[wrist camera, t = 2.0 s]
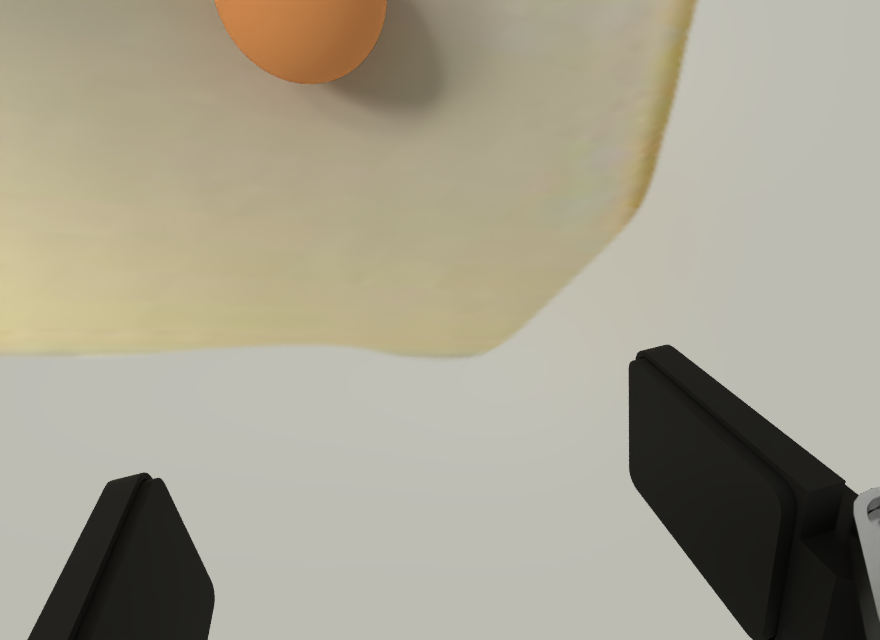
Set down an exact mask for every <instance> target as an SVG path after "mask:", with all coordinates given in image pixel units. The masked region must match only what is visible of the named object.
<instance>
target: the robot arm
mask: <svg viewBox="0 0 880 640" xmlns="http://www.w3.org/2000/svg"><path fill="white" fill-rule="evenodd" d="M629 471H630V476H631V479H632V482H633V483H634V486H635V487H636V489H637V490H638V492H639V493H640V494H641V495H642V497H643V498H644V499H645V501H646V502H647V503H648V505H649V506H650V507H651V508H652V510H653V511H654V512H655V514H656V515H657V516H658V518H659V519H660V520H661V521H662V523H663V524H664V526H665V527H666V528H667V530H668V531H669V532H670V534H671V535H672V536H673V537H674V539H675V540H676V541H677V543H678V544H679V545H680V546H681V548H682V549H683V551H684V552H685V553H686V554H687V556H688V557H689V558H690V560H691V561H692V562H693V564H694V565H695V566H696V568H697V569H698V570H699V572H700V573H701V574H702V575H703V577H704V578H705V579H706V581H707V582H708V583H709V585H710V586H711V587H712V589H713V590H714V591H715V593H716V594H717V595H718V596H719V598H720V599H721V600H722V601H723V603H724V604H725V606H726V607H727V608H728V610H729V611H730V612H731V613H732V615H733V616H734V617H735V619H736V620H737V621H738V623H739V624H740V625H741V627H742V628H743V629H744V630H745V632H746V633H747V634H748V635H749V636H750V637H751V638H752V639H753V640H880V487H878V488H871V489H869V490H867V491H865V492H863V493H861V494H860V495H858V494H856V493H855V492H854V491H853V490H851V489H850V488H849V487H847V486H846V485H845V482H846V481H845V480H843V479H842V478H841V477H840V476H838V475H837V474H836V473H835V472H833V471H832V470H831V469H829V468H828V467H827V466H826V465H824V464H823V463H822V462H820V461H819V460H818V459H817V458H815V457H814V456H813V455H811V454H810V453H809V452H808V451H806V450H805V449H804V448H802V447H801V446H800V445H799V444H797V443H796V442H795V441H793V440H792V439H791V438H789V437H788V436H787V435H785V434H784V433H783V432H782V431H781V430H779V429H778V428H777V427H775V426H774V425H773V424H771V423H770V422H769V421H768V420H766V419H765V418H764V417H763V416H761V415H760V414H759V413H757V412H756V411H755V410H754V409H752V408H751V407H750V406H748V405H747V404H746V403H744V402H743V401H742V400H741V399H739V398H738V397H737V396H736V395H734V394H733V393H732V392H730V391H729V390H728V389H727V388H725V387H724V386H723V385H721V384H720V383H719V382H717V381H716V380H715V379H714V378H712V377H711V376H710V375H709V374H707V373H706V372H705V371H703V370H702V369H701V368H699V367H698V366H697V365H696V364H694V363H693V362H692V361H691V360H689V359H688V358H687V357H685V356H684V355H683V354H682V353H680V352H679V351H678V350H676V349H675V348H674V347H672V346H670V345H663V346H659V347H655V348H651V349H647V350H643V351H640V352H638V353H637V356H636V360H634V361H632V362H630V364H629ZM214 601H215V595H214V588H213V584H212V582H211V579H210V577H209V575H208V573H207V571H206V569H205V567H204V565H203V563H202V561H201V558H200V556H199V554H198V552H197V550H196V548H195V546H194V544H193V542H192V540H191V538H190V535H189V534H188V531H187V529H186V527H185V525H184V523H183V521H182V519H181V517H180V515H179V512H178V511H177V508H176V506H175V504H174V502H173V500H172V498H171V496H170V494H169V492H168V489H167V487H166V485H165V483H164V482H163V481H162V479H160V478H156V479H152V478H151V476H150V475H149V474H148V473H140V474H136V475H132V476H128V477H124V478H120V479H116V480H112V481H110V482H108V483H107V485H106V486H105V488H104V490H103V492H102V494H101V496H100V498H99V500H98V502H97V504H96V506H95V508H94V510H93V511H92V513H91V515H90V518H89V519H88V521H87V524H86V525H85V527H84V529H83V531H82V533H81V535H80V537H79V539H78V541H77V543H76V545H75V547H74V549H73V551H72V553H71V555H70V557H69V559H68V561H67V563H66V565H65V567H64V569H63V571H62V573H61V575H60V577H59V579H58V581H57V583H56V584H55V587H54V589H53V591H52V592H51V594H50V596H49V598H48V600H47V602H46V604H45V606H44V609H43V610H42V612H41V614H40V616H39V618H38V620H37V622H36V624H35V626H34V628H33V630H32V632H31V634H30V636H29V638H28V640H208V634H209V629H210V624H211V619H212V613H213V609H214Z"/></svg>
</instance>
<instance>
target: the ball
mask: <svg viewBox="0 0 880 640" xmlns="http://www.w3.org/2000/svg"><path fill="white" fill-rule="evenodd" d="M215 4H216V7H217V10H218V13H219V16H220V18H221V20H222V22H223V24H224V26H225V28H226V30H227V32H228V33H229V35H230V37H231V38H232V40H233V41H234V42H235V44H236V45H237V46H238V47H239V49H240V50H241V51H242V52H243V53H244V54H245V55H246V56H247V57H248V58H249V59H250V60H251V61H252V62H254V63H255V64H256V65H257V66H259V67H260V68H262V69H263V70H265V71H266V72H268V73H270V74H272V75H274V76H276V77H278V78H281V79H284V80H287V81H290V82H295V83H301V84H318V83H325V82H329V81H333V80H335V79H338V78H340V77H342V76H344V75H346V74H348V73H349V72H351V71H352V70H354V69H355V68H356V67H357V66H359V65H360V64H361V63H362V62H363V60H364V59H365V58H366V57H367V56H368V55H369V53H370V52H371V50H372V49H373V47H374V45H375V44H376V42H377V40H378V38H379V35H380V33H381V30H382V27H383V23H384V19H385V14H386V6H387V0H215Z"/></svg>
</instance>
